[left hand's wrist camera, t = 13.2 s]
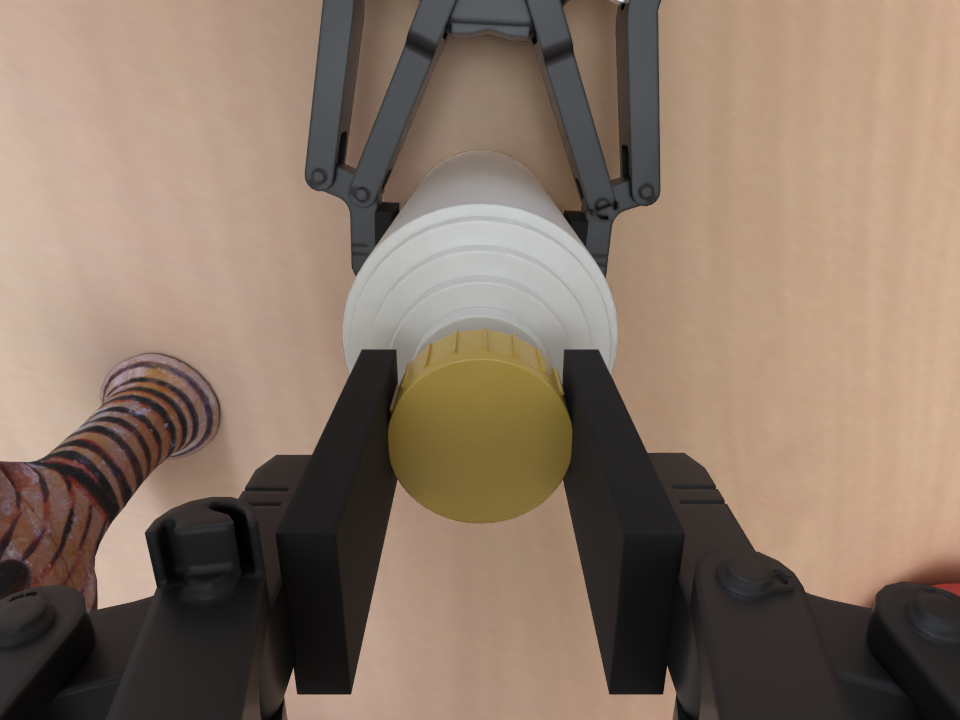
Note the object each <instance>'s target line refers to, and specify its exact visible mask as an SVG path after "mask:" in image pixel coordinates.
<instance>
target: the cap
mask: <svg viewBox="0 0 960 720" xmlns="http://www.w3.org/2000/svg"><path fill="white" fill-rule="evenodd" d="M564 394H565V393H564V390H563V386H562V383H561V379H560V376H559V372H558V370H557V368H556V369H553V367H552V366H551V364H550V363H549V361H548V360H547V359H546V358H545V357H544V356H543V355H542V353H541V350H540V349H539V348H537V349H535V348H534V347H533V346H531V345H530V344H528V343H527V342H525V341H523V340H521V339H519V338H517V337H516V334H512V335H509V334H506V333H503V332H498V331H492V330H487V328H483V330H469V331H463V332H457V331H454V332H453V334H452V335H448V336H446V337H444V338H441V339H439V340H437V341H436V342H434V343H432V344H431V343H428V344H427V347H426V348H425V349H424V350H423V351H422V352H420V353H419V354H418V355H417V356H416V358H415V359H414V360H413V361H412V362H410V361H409V362H408V363H407V366H406V370H405V373H404V375H403V377H402V379H401V382H400V385H399V386H398V385H397V386H396V389H395V393H394V396H393V400H392V403H391V407H390V413H391V417H390V421H389V425H388V443H389V459H390V463H391V466H392V469H393V471H394V473H395V475H396V477H397V479H398V480H399V482H400V483H401V485H402V486H403V487H404V489H405V490H406V491H407V492H408V494H409V495H411V496H412V497H413V498H414V499H415V500H416V501H417V502H418V503H420V504H421V505H423V506H424V507H425V508H427V509H429V510H431V511H432V512H434V513H436V514H439V515H441V516H443V517H446V518H449V519H453V520H456V521H461V522H467V523H493V522H499V521H504V520H508V519H512V518H515V517H517V516H520V515H522V514H525V513H526V512H528V511H530V510H532V509H534V508H535V507H537V506H538V505H539V504H541V503H542V502H544V501H545V500H546V499H547V498H548V497H549V496H550V495H551V494H552V493H553V492H554V491H555V490H556V488H557V487H558V486H559V484H560V483H561V481H562V480H563V478H564V477H565V475H566V472H567V470H568V468H569V466H570V462H571V450H572V432H573V427H572V422H571V418H570V415H569V411H568V408H567V404H566V400H565V397H564Z"/></svg>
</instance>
